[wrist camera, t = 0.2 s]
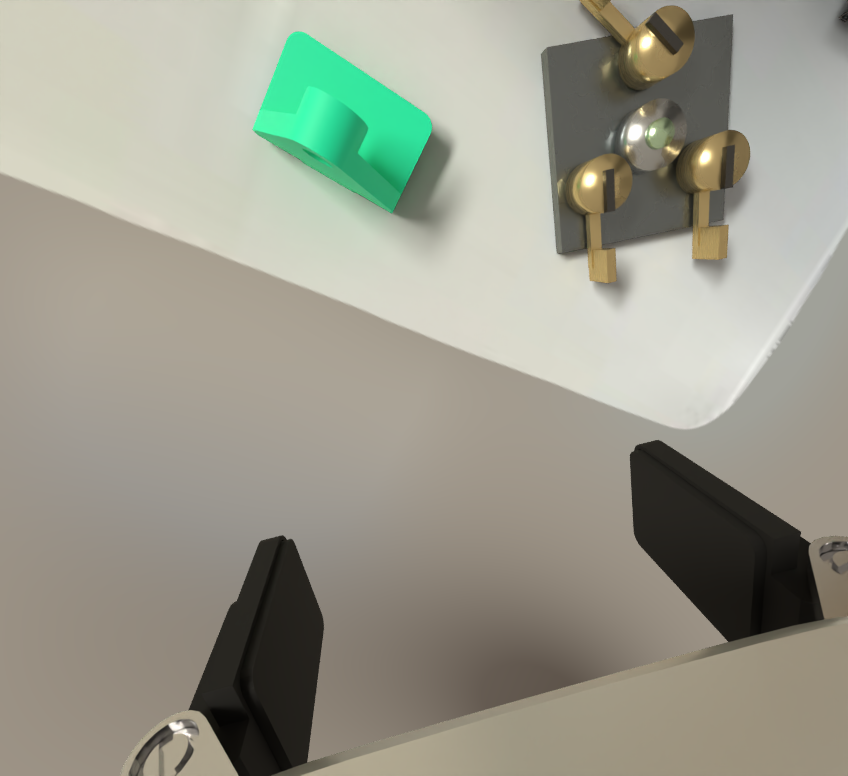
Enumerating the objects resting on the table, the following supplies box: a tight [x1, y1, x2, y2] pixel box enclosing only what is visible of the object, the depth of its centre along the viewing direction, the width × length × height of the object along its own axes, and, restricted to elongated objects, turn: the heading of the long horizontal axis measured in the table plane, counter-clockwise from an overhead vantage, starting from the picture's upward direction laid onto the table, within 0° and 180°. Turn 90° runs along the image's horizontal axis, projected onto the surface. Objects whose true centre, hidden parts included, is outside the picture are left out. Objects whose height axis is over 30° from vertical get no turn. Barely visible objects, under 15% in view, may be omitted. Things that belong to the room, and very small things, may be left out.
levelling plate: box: [541, 14, 733, 253], centre depth 36 cm, size 16×16×4 cm
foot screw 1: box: [565, 154, 632, 283], centre depth 36 cm, size 10×4×4 cm, turn 11°
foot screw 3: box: [676, 130, 750, 260], centre depth 37 cm, size 10×4×4 cm, turn 11°
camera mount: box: [252, 32, 432, 213], centre depth 30 cm, size 12×8×10 cm, turn 62°
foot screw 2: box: [580, 0, 695, 90], centre depth 32 cm, size 10×4×4 cm, turn 56°
